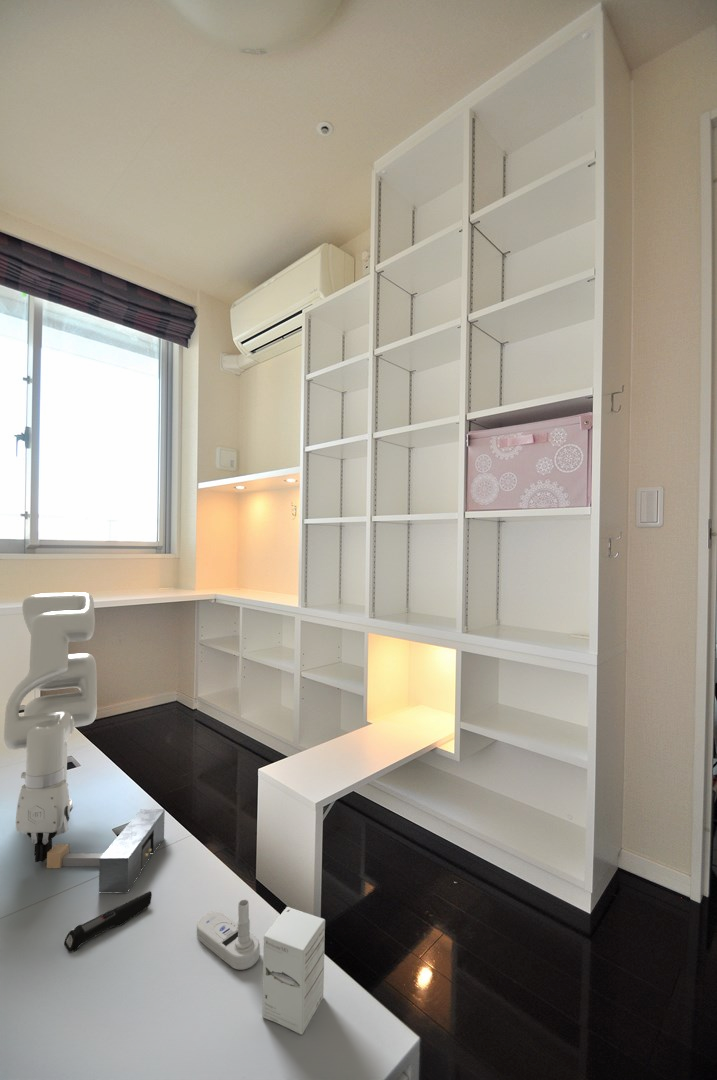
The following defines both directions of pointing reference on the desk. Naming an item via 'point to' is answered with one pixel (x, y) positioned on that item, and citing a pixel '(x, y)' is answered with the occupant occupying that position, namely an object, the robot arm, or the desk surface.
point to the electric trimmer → (106, 921)
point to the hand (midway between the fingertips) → (43, 858)
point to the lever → (84, 856)
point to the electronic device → (230, 937)
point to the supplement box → (293, 969)
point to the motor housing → (130, 851)
